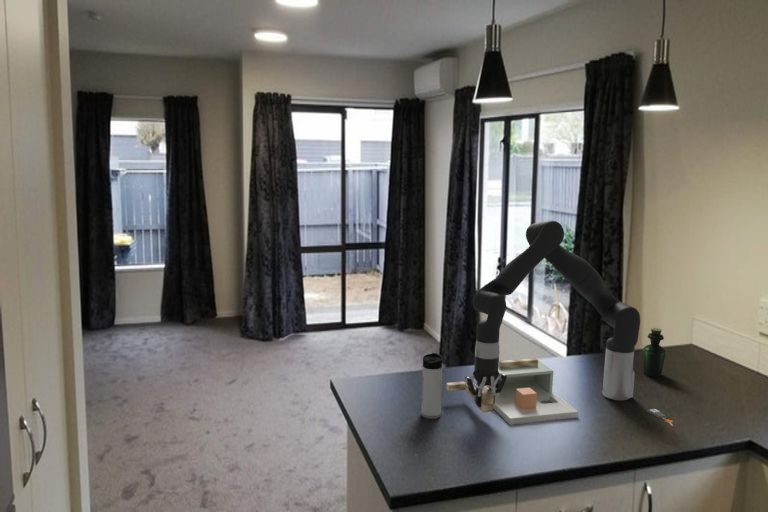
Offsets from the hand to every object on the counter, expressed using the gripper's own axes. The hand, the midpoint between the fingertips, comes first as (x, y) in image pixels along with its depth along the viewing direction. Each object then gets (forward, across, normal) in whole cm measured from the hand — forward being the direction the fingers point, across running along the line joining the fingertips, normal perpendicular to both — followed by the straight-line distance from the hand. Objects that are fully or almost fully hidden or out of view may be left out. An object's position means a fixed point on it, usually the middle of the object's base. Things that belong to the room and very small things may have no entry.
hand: (484, 405), depth 194 cm
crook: (+1, +3, -7) cm, 8 cm away
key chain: (+5, -57, +12) cm, 59 cm away
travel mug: (+5, +16, -7) cm, 18 cm away
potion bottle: (+5, -80, -24) cm, 84 cm away
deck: (+5, -18, -10) cm, 21 cm away
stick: (-5, -20, -18) cm, 27 cm away
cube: (+3, -16, -3) cm, 16 cm away
